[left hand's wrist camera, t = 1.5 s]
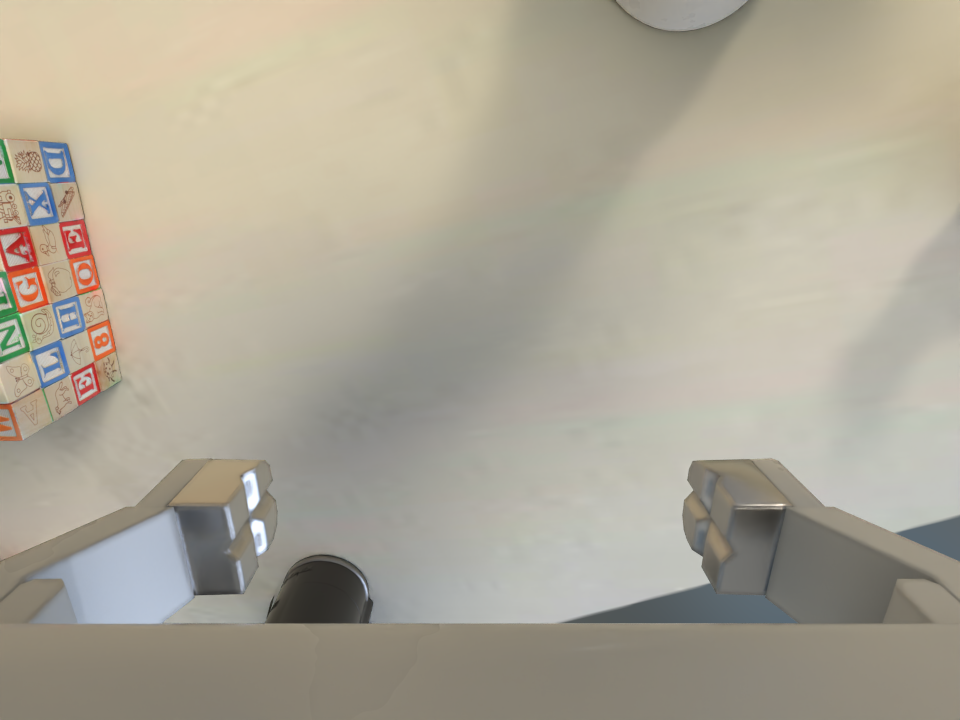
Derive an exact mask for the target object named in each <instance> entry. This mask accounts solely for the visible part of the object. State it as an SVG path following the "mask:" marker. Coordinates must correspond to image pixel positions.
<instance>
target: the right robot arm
mask: <svg viewBox="0 0 960 720" xmlns="http://www.w3.org/2000/svg"><path fill="white" fill-rule="evenodd" d="M368 596H369V588H368V584H367V581H366V579H365V577H364V576H363V574H362V573H361V572H360V571H359V570H358V569H357V568H356V567H355V566H354V565H352V564H351V563H349V562H347V561H345V560H343V559H340V558H337V557H332V556H313V557H308V558H305V559H303V560H301V561H299V562H298V563H296V564H295V565H294V566H293V567H292V568H291V569H290V570H289V572H288V573H287V575H286V577H285V579H284V582H283V585H282V587H281V590H280V592H279V594H278V596H277V599H276V600H275V602H274V605H273V607H272V609H271V606H272V603H273V599H274V597H273V599H272V601H271V603H270V607H269V611H268V615H267V619H266V621H265V624H368V622H369V618H370V614H371V610H372V606H373V602H372V601H371V600H370V598H369V597H368ZM270 610H271V611H270Z"/></svg>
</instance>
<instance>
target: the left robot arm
mask: <svg viewBox="0 0 960 720" xmlns="http://www.w3.org/2000/svg"><path fill="white" fill-rule="evenodd" d="M747 1H748V0H616V2H617V3H618V4H619V5H620V6H621V7H622V8H623V9H624V10H625V11H626V12H627V13H629V14H630V15H631V16H633V17H634V18H636V19H637V20H639V21H641V22H642V23H644V24H647V25H649V26H651V27H655V28H658V29H662V30H668V31H689V30H695V29H700V28H703V27H706V26H709V25H712V24H714V23H716V22H719V21H720V20H722V19H724V18H726V17H727V16H729V15H731V14H732V13H734V12H735V11H736V10H738V9H739V8H740V7H741V6H742V5H744V4H745V3H746V2H747ZM272 481H273V479H272V474H271V469H270V465H269V464H268V463H267V462H266V460H239V459H187V460H182V461H181V462H180V463H179V464H178V465H177V466H176V467H175V468H174V469H173V470H172V471H171V472H170V473H169V474H168V475H167V476H166V477H165V478H164V479H163V480H162V481H161V482H160V483H159V484H158V485H157V486H156V487H155V488H154V489H153V490H151V491H150V492H149V493H148V494H147V495H146V496H145V497H144V498H143V499H142V500H141V501H140V502H139V503H138V504H137V505H136V506H135V507H125V508H122V509H120V510H118V511H116V512H113V513H111V514H109V515H106V516H104V517H102V518H99V519H97V520H95V521H93V522H90V523H88V524H86V525H83V526H81V527H79V528H76V529H74V530H72V531H69V532H67V533H65V534H63V535H60V536H58V537H56V538H53V539H51V540H49V541H46V542H44V543H42V544H40V545H37V546H35V547H33V548H30V549H28V550H26V551H23V552H21V553H19V554H17V555H14V556H12V557H10V558H7V559H5V560H3V561H0V720H960V562H959V561H957V560H955V559H952V558H950V557H948V556H945V555H943V554H941V553H939V552H936V551H934V550H932V549H929V548H927V547H925V546H922V545H920V544H918V543H916V542H913V541H911V540H909V539H906V538H904V537H902V536H899V535H897V534H895V533H893V532H890V531H888V530H886V529H883V528H881V527H879V526H877V525H874V524H872V523H870V522H867V521H865V520H863V519H861V518H858V517H856V516H854V515H851V514H849V513H847V512H844V511H842V510H840V509H838V508H835V507H825V506H824V505H823V504H822V503H821V502H820V501H819V500H818V499H817V498H816V497H815V496H814V495H813V494H812V493H811V492H810V491H809V490H808V489H807V488H806V487H805V486H803V485H802V484H801V483H800V482H799V481H798V480H797V479H796V478H795V477H794V476H793V475H792V474H791V473H790V472H789V471H788V470H787V469H786V468H785V467H784V466H783V465H782V464H781V463H780V462H779V461H777V460H775V459H772V458H769V459H738V460H699V461H693V462H692V464H691V466H690V468H689V473H688V479H687V481H688V482H689V484H690V485H691V487H692V488H693V492H692V493H691V494H690V495H689V496H688V497H687V498H686V499H685V500H684V506H683V514H682V516H683V527H684V532H685V535H686V539H687V541H688V543H689V545H690V547H691V549H692V550H693V551H695V552H696V553H698V554H699V555H701V556H702V557H703V560H702V566H701V567H702V569H703V571H704V572H705V574H706V576H707V578H708V579H709V581H710V583H711V585H712V586H713V588H714V590H715V592H716V594H739V595H766V596H765V597H766V598H767V599H768V600H769V601H771V602H772V603H773V604H774V605H776V606H777V607H778V608H780V609H781V610H782V611H783V612H785V613H786V614H787V615H789V616H790V617H791V618H793V619H794V620H795V621H796V622H798V623H769V624H768V623H763V624H761V623H760V624H759V623H757V624H756V623H748V624H747V623H744V624H743V623H733V624H732V623H731V624H730V623H728V624H727V623H726V624H724V623H721V624H720V623H716V624H715V623H714V624H713V623H712V624H711V623H710V624H709V623H708V624H707V623H702V624H701V623H700V624H699V623H698V624H695V623H691V624H689V623H688V624H687V623H686V624H685V623H681V624H680V623H677V624H161V623H163V622H164V621H165V620H166V619H168V618H169V617H170V616H172V615H173V614H174V613H175V612H177V611H178V610H179V609H181V608H182V607H183V606H184V605H186V604H187V603H188V602H190V601H191V600H192V599H194V595H220V594H244V592H245V590H246V588H247V587H248V585H249V583H250V581H251V579H252V578H253V576H254V574H255V572H256V571H257V569H258V567H259V566H258V560H257V557H258V556H259V555H261V554H262V553H264V552H265V551H267V550H268V549H269V547H270V545H271V543H272V541H273V539H274V535H275V531H276V527H277V505H276V500H275V499H274V498H273V497H272V496H271V495H270V494H269V493H268V492H267V488H268V487H269V485H270V484H271V482H272Z"/></svg>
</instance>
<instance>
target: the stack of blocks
mask: <svg viewBox="0 0 960 720" xmlns="http://www.w3.org/2000/svg"><path fill="white" fill-rule="evenodd" d="M83 219H84V214H83V210H82V206H81V202H80V197H79V193H78V188H77V184H76V182H75V176H74V172H73V167H72V163H71V160H70V155H69V151H68V147H67V144H66V143H57V142H44V141H34V140H16V139H0V441H21V440H25V439H26V438H28V437H30V436H31V435H33V434H34V433H36V432H37V431H39V430H41V429H42V428H44V427H45V426H47V425H49V424H50V423H53V422H55V421H57V420H58V419H60V418H61V417H63V416H65V415H66V414H68V413H70V412H71V411H73V410H74V409H76V408H77V407H78V406H80V405H81V404H83V403H85V402H86V401H88V400H90V399H91V398H93V397H94V396H96V395H97V394H99V393H100V392H103V391H105V390H106V389H108V388H110V387H111V386H113V385H114V384H116V383H118V382H119V381H121V379H122V378H121V374H120V369H119V365H118V360H117V356H116V353H115V350H116V348H115V343H114V339H113V335H112V331H111V327H110V322H109V320H108V313H107V308H106V304H105V300H104V295H103V291H102V289H101V288H100V285H99V280H98V276H97V272H96V267H95V263H94V259H93V255H92V254H91V249H90V244H89V240H88V235H87V232H86V227H85V223H84V221H83Z"/></svg>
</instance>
